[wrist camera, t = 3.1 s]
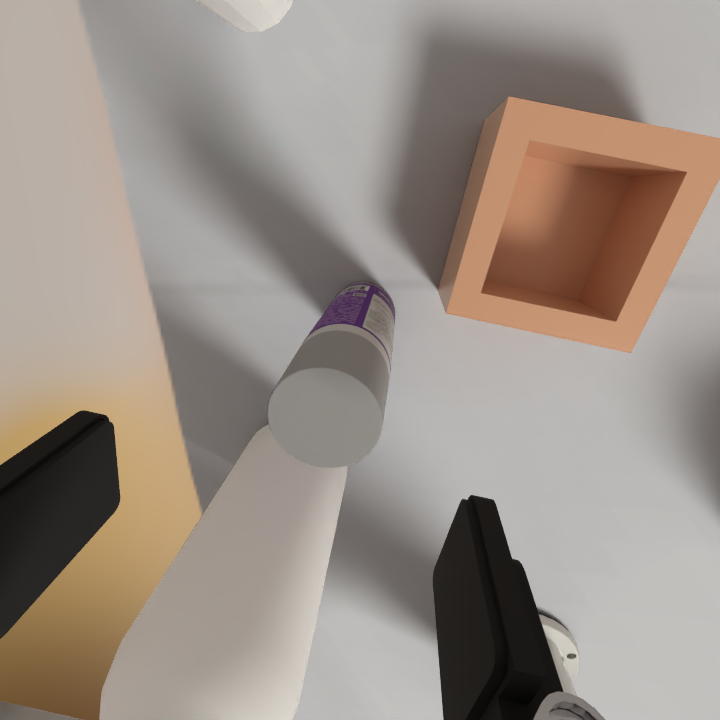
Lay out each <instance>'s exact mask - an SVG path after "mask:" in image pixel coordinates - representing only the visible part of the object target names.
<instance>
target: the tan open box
mask: <svg viewBox="0 0 720 720" xmlns="http://www.w3.org/2000/svg"><path fill="white" fill-rule="evenodd" d="M719 179H720V138H715V137H710V136H705V135H700V134H695V133H690V132H685V131H680V130H675V129H670V128H665V127H660V126H655V125H650V124H645V123H640V122H635V121H630V120H625V119H620V118H615V117H610V116H605V115H600V114H595V113H590V112H585V111H580V110H575V109H570V108H565V107H560V106H555V105H550V104H545V103H540V102H535V101H530V100H525V99H520V98H515V97H510V96H509V97H508V98H507V99H506V100H505V101H504V102H503V103H502V104H501V105H500V106H499V107H498V108H497V109H496V110H494V111H493V112H492V113H491V114H490V115H489V116H488V117H487V118H486V119H485V120H484V123H483V127H482V131H481V134H480V138H479V142H478V145H477V149H476V153H475V156H474V160H473V163H472V167H471V171H470V174H469V178H468V182H467V185H466V189H465V193H464V196H463V200H462V204H461V207H460V211H459V215H458V218H457V222H456V226H455V229H454V233H453V237H452V240H451V244H450V248H449V251H448V255H447V258H446V262H445V266H444V269H443V273H442V277H441V280H440V284H439V288H438V292H439V295H440V298H441V301H442V303H443V306H444V309H445V312H446V313H447V314H451V315H456V316H461V317H465V318H470V319H474V320H479V321H484V322H488V323H493V324H498V325H502V326H507V327H512V328H516V329H521V330H526V331H530V332H535V333H540V334H544V335H549V336H554V337H558V338H563V339H568V340H572V341H577V342H582V343H586V344H591V345H596V346H600V347H605V348H610V349H614V350H619V351H624V352H628V353H631V352H632V350H633V348H634V346H635V344H636V342H637V340H638V338H639V336H640V334H641V332H642V330H643V328H644V326H645V324H646V323H647V321H648V319H649V317H650V315H651V313H652V311H653V309H654V307H655V305H656V303H657V301H658V299H659V297H660V295H661V293H662V291H663V289H664V287H665V285H666V283H667V281H668V279H669V277H670V275H671V273H672V271H673V269H674V267H675V265H676V264H677V262H678V260H679V258H680V256H681V254H682V252H683V250H684V248H685V246H686V244H687V242H688V240H689V238H690V236H691V234H692V232H693V230H694V228H695V226H696V224H697V222H698V220H699V218H700V216H701V214H702V212H703V210H704V208H705V207H706V205H707V203H708V201H709V199H710V197H711V195H712V193H713V191H714V189H715V187H716V185H717V183H718V181H719Z"/></svg>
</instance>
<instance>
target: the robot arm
mask: <svg viewBox="0 0 720 720" xmlns="http://www.w3.org/2000/svg"><path fill="white" fill-rule="evenodd" d="M119 502H120V490H119V479H118V468H117V456H116V446H115V435H114V426H113V424H112V423H111V422H109V418H108V417H107V416H106V415H103V414H97V413H93V412H89V411H80V412H78V413H76V414H74V415H73V416H71V417H70V418H69V419H67V420H66V421H64V422H63V423H61V424H60V425H58V426H57V427H55V428H54V429H53V430H51V431H50V432H48V433H47V434H45V435H44V436H42V437H41V438H39V439H38V440H37V441H35V442H34V443H32V444H31V445H29V446H28V447H26V448H25V449H23V450H22V451H20V452H19V453H17V454H16V455H15V456H13V457H12V458H10V459H9V460H7V461H6V462H4V463H3V464H2V465H0V638H2V637H3V636H4V635H5V634H6V633H7V632H8V631H9V630H10V628H12V626H13V625H14V624H15V623H16V622H17V621H18V620H19V619H20V617H21V616H22V615H23V614H24V613H25V612H26V611H27V610H28V608H29V607H30V606H31V605H32V604H33V603H34V602H35V601H36V599H37V598H38V597H39V596H40V595H41V594H42V593H43V592H44V591H45V589H46V588H47V587H48V586H49V585H50V584H51V583H52V582H53V580H54V579H55V578H56V577H57V576H58V575H59V574H60V573H61V572H62V570H63V569H64V568H65V567H66V566H67V565H68V564H69V563H70V561H71V560H72V559H73V558H74V557H75V556H76V554H77V553H78V552H79V551H80V550H81V549H82V548H83V547H84V546H85V544H87V542H88V541H89V540H90V539H91V538H92V537H93V536H94V534H95V533H96V532H97V531H98V530H99V529H100V528H101V527H102V526H103V524H104V523H105V522H106V521H107V520H108V519H109V518H110V516H112V514H113V513H114V512H115V510H116V509H117V507H118V505H119ZM433 590H434V602H435V615H436V628H437V641H438V654H439V666H440V679H441V692H442V705H443V717H444V720H605V719H604V718H603V717H602V716H601V715H600V713H599V712H598V711H597V710H596V709H595V708H594V707H592V706H591V705H590V704H588V703H587V702H586V701H584V700H583V699H581V698H579V697H577V695H576V692H575V689H574V686H573V683H572V680H571V679H572V678H573V677H574V676H575V675H576V673H577V671H578V669H579V665H580V654H579V650H578V648H577V645H576V643H575V640H574V638H573V637H572V635H571V634H570V632H569V631H568V630H567V629H566V628H564V627H563V626H562V625H561V624H559V623H558V622H556V621H554V620H553V619H550V618H548V617H546V616H543V615H540V614H538V610H537V607H536V604H535V601H534V598H533V595H532V592H531V589H530V586H529V582H528V579H527V576H526V573H525V570H524V568H523V566H522V564H521V563H520V562H519V561H518V560H515V559H512V557H511V554H510V551H509V547H508V544H507V540H506V537H505V534H504V530H503V527H502V524H501V520H500V517H499V514H498V510H497V507H496V504H495V501H494V500H492V499H488V498H483V497H478V496H474V495H471V496H470V497H469V498H468V500H465V499H462V500H461V502H460V504H459V507H458V509H457V512H456V515H455V517H454V520H453V522H452V525H451V527H450V530H449V532H448V535H447V538H446V540H445V543H444V545H443V548H442V550H441V553H440V555H439V558H438V561H437V563H436V566H435V569H434V574H433ZM0 720H82V719H77V718H73V717H69V716H64V715H60V714H55V713H51V712H46V711H42V710H37V709H33V708H28V707H24V706H20V705H15V704H11V703H6V702H1V701H0Z"/></svg>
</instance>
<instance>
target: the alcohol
mask: <svg viewBox="0 0 720 720" xmlns="http://www.w3.org/2000/svg"><path fill="white" fill-rule="evenodd" d="M347 471H348V466H344V467H339V468H322V467H316V466H312V465H309V464H306V463H304V462H302V461H300V460H298V459H296V458H294V457H293V456H291V455H290V454H289V453H287V452H286V451H285V450H284V449H283V448H282V447H281V446H280V445H279V443H278V442H277V440H276V439H275V437H274V436H273V434H272V432H271V429H270V426H269V424H268V425H266V426H264V427H263V428H261V429H260V430H259V431H257V433H256V434H255V435H254V436H253V437H252V439H251V440H250V442H249V443H248V445H247V447H246V448H245V450H244V451H243V453H242V454H241V456H240V457H239V459H238V461H237V462H236V464H235V465H234V467H233V468H232V470H231V471H230V473H229V475H228V476H227V478H226V479H225V481H224V482H223V484H222V485H221V487H220V489H219V490H218V492H217V493H216V495H215V496H214V498H213V499H212V501H211V503H210V504H209V506H208V507H207V509H206V510H205V512H204V513H203V515H202V517H201V518H200V520H199V521H198V523H197V524H196V526H195V528H194V529H193V531H192V532H191V534H190V535H189V537H188V538H187V540H186V542H185V543H184V545H183V546H182V548H181V549H180V551H179V552H178V554H177V556H176V557H175V559H174V560H173V562H172V564H171V565H170V566H169V568H168V570H167V571H166V573H165V574H164V576H163V577H162V579H161V581H160V582H159V584H158V585H157V587H156V588H155V590H154V591H153V593H152V594H151V596H150V598H149V599H148V601H147V602H146V604H145V605H144V607H143V609H142V610H141V612H140V613H139V615H138V616H137V618H136V619H135V621H134V622H133V624H132V626H131V627H130V629H129V631H128V632H127V633H126V635H125V637H124V638H123V640H122V642H121V644H120V646H119V648H118V651H117V653H116V656H115V658H114V661H113V663H112V666H111V669H110V671H109V674H108V676H107V679H106V681H105V684H104V686H103V689H102V694H101V706H100V720H292V719H293V717H294V715H295V712H296V710H297V708H298V705H299V701H300V696H301V691H302V687H303V682H304V677H305V672H306V668H307V663H308V658H309V653H310V649H311V644H312V639H313V634H314V630H315V625H316V620H317V616H318V611H319V606H320V601H321V597H322V592H323V587H324V582H325V578H326V573H327V568H328V563H329V559H330V554H331V549H332V545H333V540H334V535H335V530H336V526H337V521H338V516H339V511H340V507H341V502H342V497H343V492H344V488H345V483H346V478H347Z"/></svg>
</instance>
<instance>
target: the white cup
mask: <svg viewBox="0 0 720 720" xmlns="http://www.w3.org/2000/svg"><path fill="white" fill-rule="evenodd" d="M195 1H196V2H198V3H199V4H201V5H202V6H204V7H205V8H207V9H208V10H209V11H211V12H212V13H214V14H215V15H217V16H218V17H219V18H221V19H222V20H224V21H225V22H227V23H229V24H230V25H232V26H234V27H236V28H238V29H239V30H241V31H248V32H262V31H264V30H266V29H268V28H270V27H272V26H274V25H276V24H278V23H279V21H280V20H281V19H282V18H283V16H284V15H285V14H286V12H287V11H288V10H289V9H290V7H291V5H292V2H293V0H195Z"/></svg>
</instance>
